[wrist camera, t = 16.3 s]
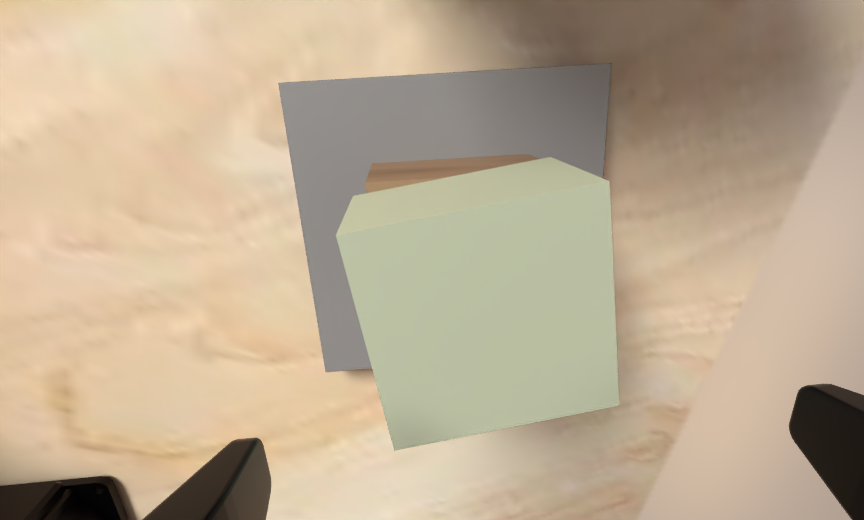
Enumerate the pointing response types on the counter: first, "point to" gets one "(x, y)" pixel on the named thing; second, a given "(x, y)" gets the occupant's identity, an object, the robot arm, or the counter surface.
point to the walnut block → (433, 170)
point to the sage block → (485, 298)
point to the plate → (422, 151)
